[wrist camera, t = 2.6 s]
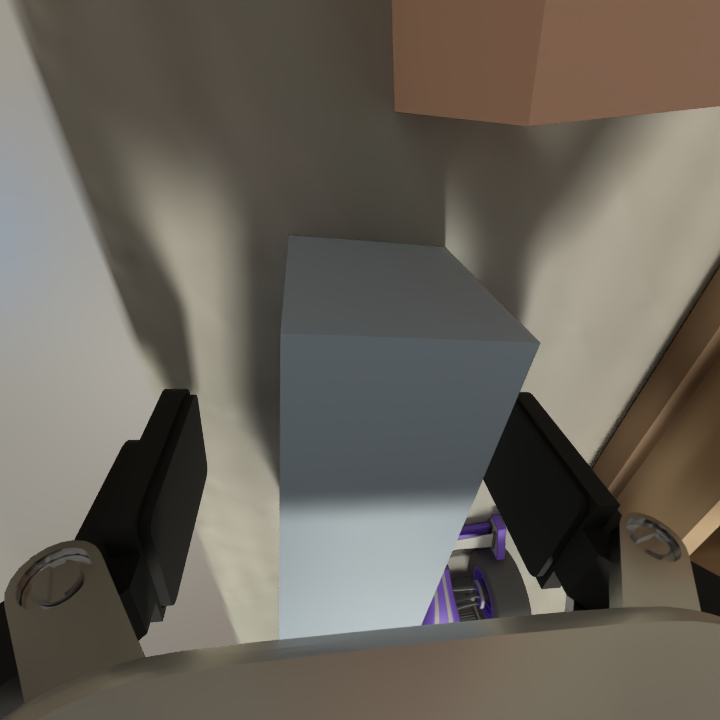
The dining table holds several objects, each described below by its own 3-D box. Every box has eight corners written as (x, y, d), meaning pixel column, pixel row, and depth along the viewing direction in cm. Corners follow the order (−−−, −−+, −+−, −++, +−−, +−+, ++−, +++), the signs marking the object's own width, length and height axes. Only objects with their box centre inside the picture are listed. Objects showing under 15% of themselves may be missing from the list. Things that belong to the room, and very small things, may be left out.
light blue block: (289, 232, 10) (280, 333, 5) (443, 245, 10) (540, 342, 6) (284, 496, 15) (278, 647, 11) (386, 492, 16) (417, 634, 11)
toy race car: (527, 501, 18) (627, 679, 12) (488, 641, 26) (537, 783, 21) (316, 535, 17) (323, 738, 12) (346, 667, 25) (359, 820, 20)
